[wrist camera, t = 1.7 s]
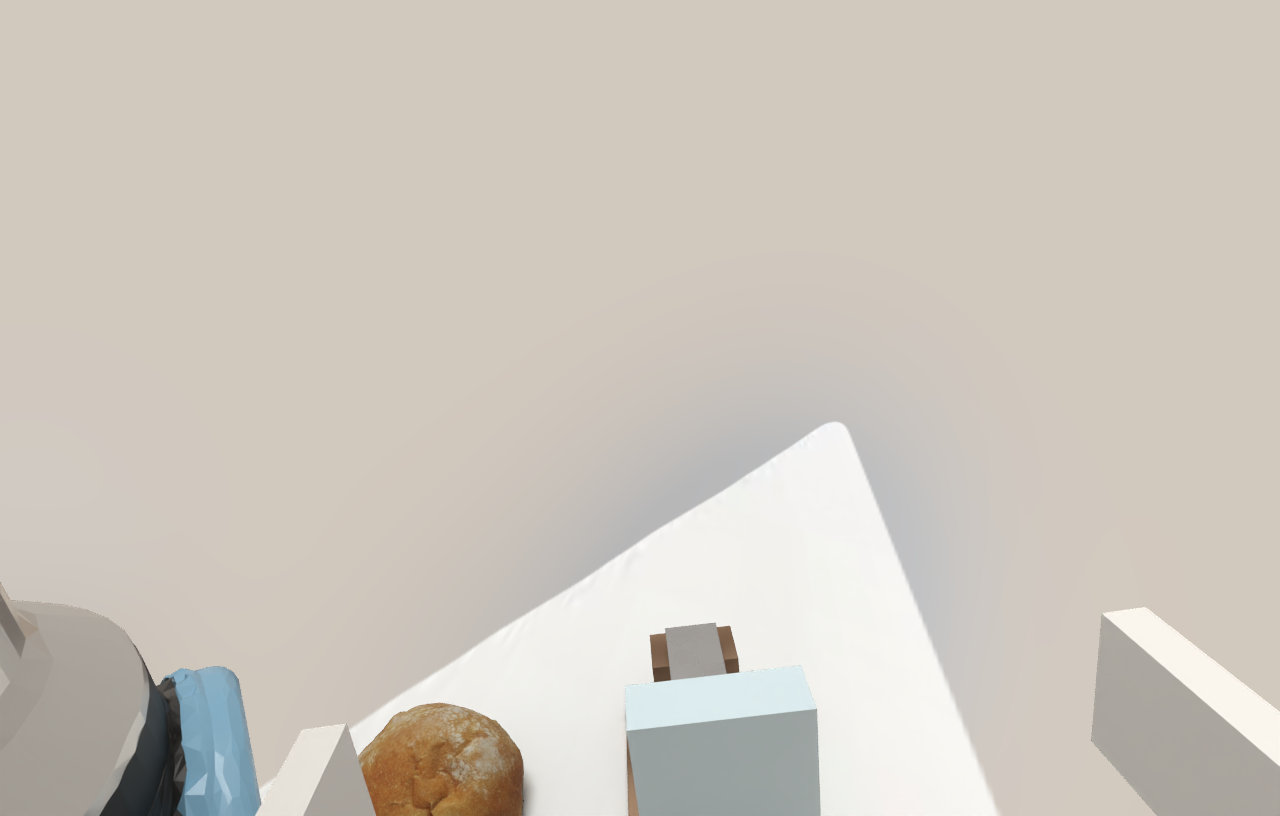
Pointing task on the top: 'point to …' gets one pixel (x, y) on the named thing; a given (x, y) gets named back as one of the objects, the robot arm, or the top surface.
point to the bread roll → (443, 765)
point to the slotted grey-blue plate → (725, 745)
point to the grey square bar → (694, 651)
